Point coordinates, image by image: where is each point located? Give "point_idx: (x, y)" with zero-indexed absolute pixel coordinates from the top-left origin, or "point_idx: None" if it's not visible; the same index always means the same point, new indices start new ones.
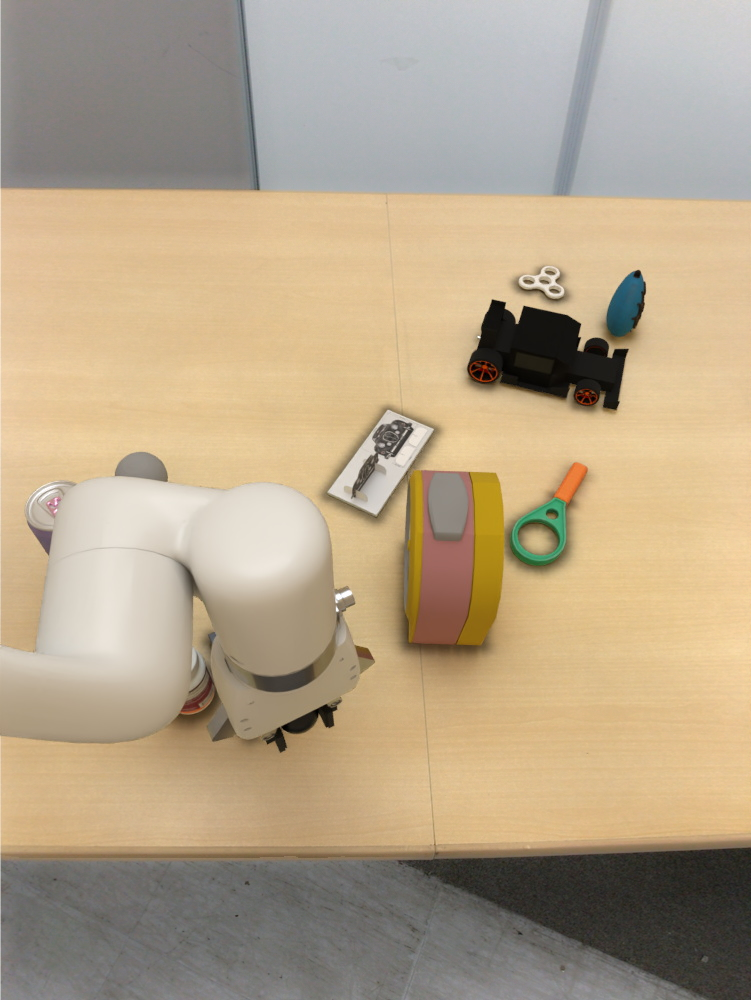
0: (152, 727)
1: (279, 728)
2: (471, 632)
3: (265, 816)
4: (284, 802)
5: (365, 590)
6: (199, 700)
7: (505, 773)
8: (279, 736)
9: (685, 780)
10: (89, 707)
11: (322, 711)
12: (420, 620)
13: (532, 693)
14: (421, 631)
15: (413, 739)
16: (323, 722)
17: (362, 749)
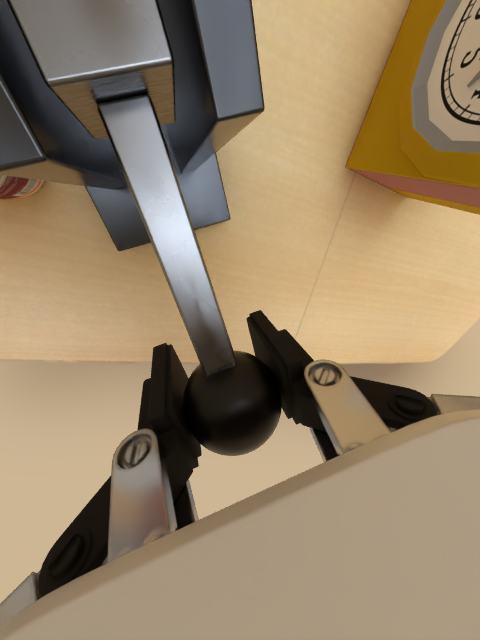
0: None
1: (194, 452)
2: (447, 203)
3: (146, 339)
4: (167, 328)
5: (331, 25)
6: (8, 193)
7: (353, 322)
8: (194, 467)
9: (439, 335)
10: None
11: (284, 408)
12: (453, 186)
13: (410, 261)
14: (399, 178)
15: (302, 286)
16: (256, 356)
17: (254, 288)
